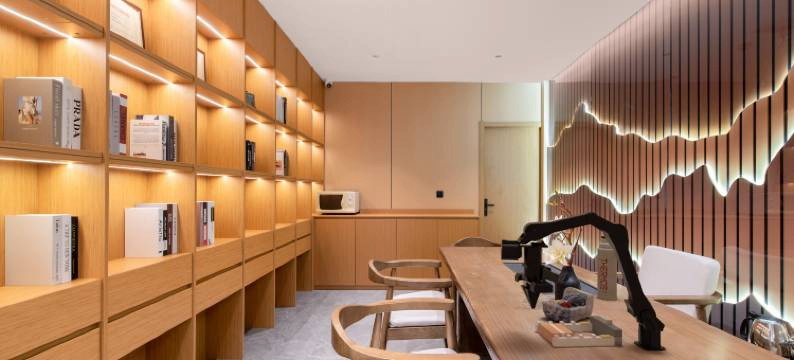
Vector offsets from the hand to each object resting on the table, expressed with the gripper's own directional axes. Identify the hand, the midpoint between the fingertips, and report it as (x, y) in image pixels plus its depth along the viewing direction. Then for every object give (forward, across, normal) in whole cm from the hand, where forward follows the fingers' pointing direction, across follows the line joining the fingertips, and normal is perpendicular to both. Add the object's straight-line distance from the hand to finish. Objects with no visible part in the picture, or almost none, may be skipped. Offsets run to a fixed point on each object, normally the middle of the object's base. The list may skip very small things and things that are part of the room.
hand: (533, 308), depth 143 cm
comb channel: (+10, 0, -15) cm, 18 cm away
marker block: (+10, 0, -8) cm, 13 cm away
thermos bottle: (+10, +50, -54) cm, 74 cm away
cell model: (+10, +21, -22) cm, 32 cm away
